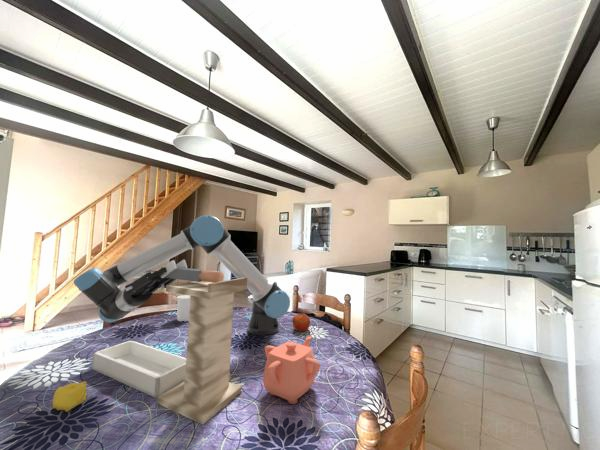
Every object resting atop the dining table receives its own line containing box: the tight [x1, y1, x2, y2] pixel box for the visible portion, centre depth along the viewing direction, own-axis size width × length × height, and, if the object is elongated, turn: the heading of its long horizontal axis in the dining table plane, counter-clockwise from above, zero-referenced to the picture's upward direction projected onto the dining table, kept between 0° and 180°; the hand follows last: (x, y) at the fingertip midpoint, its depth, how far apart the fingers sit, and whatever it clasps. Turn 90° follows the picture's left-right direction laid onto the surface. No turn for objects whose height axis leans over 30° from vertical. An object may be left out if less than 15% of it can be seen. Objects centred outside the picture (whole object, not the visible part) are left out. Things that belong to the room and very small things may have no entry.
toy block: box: [51, 381, 88, 413], centre depth 61 cm, size 8×6×5 cm
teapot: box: [262, 334, 321, 405], centre depth 70 cm, size 17×16×13 cm
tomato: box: [292, 312, 311, 332], centre depth 119 cm, size 9×9×8 cm
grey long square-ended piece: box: [160, 266, 225, 283], centre depth 71 cm, size 24×3×3 cm, turn 65°
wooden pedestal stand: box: [156, 277, 248, 426], centre depth 66 cm, size 16×14×32 cm
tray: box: [91, 340, 186, 399], centre depth 76 cm, size 32×12×5 cm, turn 65°
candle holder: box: [176, 294, 191, 322], centre depth 130 cm, size 10×10×12 cm
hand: (180, 264), depth 73 cm, fingers closed on grey long square-ended piece, 3 cm apart
